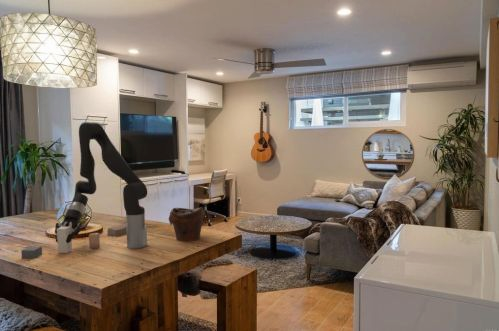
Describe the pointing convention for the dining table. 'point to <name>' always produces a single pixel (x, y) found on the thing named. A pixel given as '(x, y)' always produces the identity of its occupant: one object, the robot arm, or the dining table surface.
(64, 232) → the tall cream block
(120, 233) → the brick
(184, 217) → the dark brown pot
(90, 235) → the pink rounded pebble
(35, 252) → the grey squat block
